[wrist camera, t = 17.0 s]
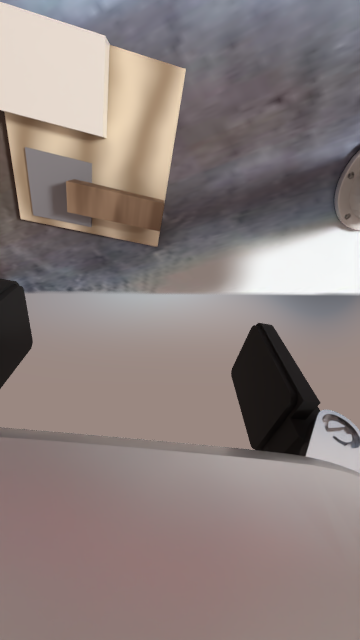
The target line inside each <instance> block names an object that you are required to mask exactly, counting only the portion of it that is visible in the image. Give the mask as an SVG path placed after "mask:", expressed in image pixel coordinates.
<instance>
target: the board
mask: <svg viewBox="0 0 360 640" xmlns="http://www.w3.org/2000/svg"><path fill="white" fill-rule="evenodd" d="M185 71H186V69H183V68H180V67H177V66H174V65H171V64H168V63H165V62H162V61H158V60H155V59H152V58H149V57H146V56H143V55H140V54H137V53H133V52H130V51H127V50H124V49H121V48H118V47H115V46H112V45H110V49H109V80H108V111H107V138H103V137H100V136H96V135H92V134H88V133H84V132H81V131H77V130H73V129H69V128H65V127H62V126H58V125H54V124H50V123H46V122H43V121H39V120H35V119H31V118H27V117H24V116H20V115H16V114H12V113H8V112H5V111H4V112H5V119H6V125H7V132H8V139H9V145H10V152H11V158H12V165H13V171H14V178H15V185H16V191H17V198H18V204H19V211H20V217H21V219H23V220H28V221H33V222H38V223H43V224H48V225H53V226H58V227H62V228H67V229H72V230H77V231H82V232H87V233H92V234H97V235H102V236H107V237H112V238H116V239H121V240H126V241H131V242H136V243H141V244H146V245H151V246H156V247H157V246H158V240H159V234H160V231H155V230H150V229H145V228H141V227H136V226H131V225H126V224H122V223H117V222H112V221H107V220H103V219H98V218H93V217H92V227H87V226H83V225H78V224H73V223H68V222H63V221H58V220H54V219H49V218H44V217H39V216H34V215H33V210H32V201H31V193H30V185H29V177H28V169H27V161H26V153H25V147H28V148H32V149H36V150H40V151H44V152H48V153H52V154H56V155H60V156H64V157H69V158H73V159H77V160H81V161H85V162H89V163H92V183H93V184H97V185H102V186H106V187H110V188H114V189H119V190H123V191H127V192H131V193H136V194H140V195H144V196H148V197H153V198H157V199H161V200H164V202H165V196H166V190H167V184H168V177H169V171H170V165H171V159H172V152H173V146H174V140H175V134H176V127H177V121H178V115H179V109H180V102H181V96H182V90H183V84H184V77H185Z"/></svg>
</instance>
